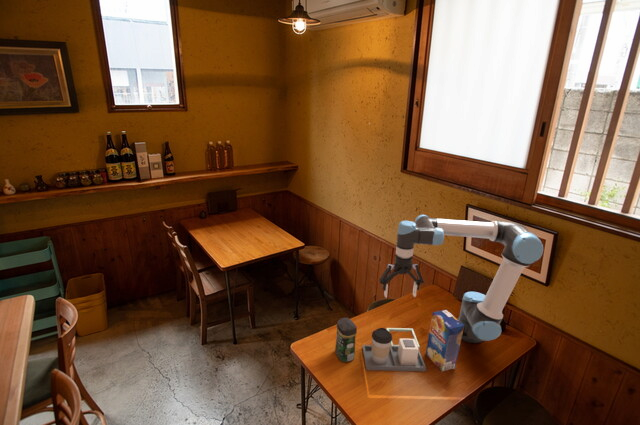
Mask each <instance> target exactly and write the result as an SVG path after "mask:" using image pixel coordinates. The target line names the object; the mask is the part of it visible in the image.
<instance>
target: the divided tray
mask: <svg viewBox="0 0 640 425" xmlns="http://www.w3.org/2000/svg"><path fill="white" fill-rule="evenodd" d="M418 349H419V351H418V357H417V363H416V366H415V365H401V364H400V361H399V358H398V354H397V353H398V346H390V351H389V355H388V358H387V362H386V363H385V364H382V365H379V364H376V363H374V362H373V360H372V344H362V353H363V358H364V364H365V365H364V366H365V370H366V371H387V372H388V371H394V372H395V371H396V372H398V371H399V372H426V371H427V367H426V364H425V362H424V359H423V357H422V356H423V355H422V354H421V351H420V348H418Z"/></svg>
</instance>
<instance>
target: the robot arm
mask: <svg viewBox="0 0 640 425" xmlns="http://www.w3.org/2000/svg"><path fill="white" fill-rule="evenodd" d="M445 236H451V237H452V236H453V237H464V238H465V237H467V238H478V239H489V241H491V242H496V243H500V244H502V245H503V246H504V248H503V249H502V252H501V256H502V261H501V263H500V264H499V267H498V269H497V271H496V274H495V275H494V277H493V280H492V282H491V283H490V286H489V288H488V291H487V292H486V294H484V293H481V292H477V291H467V292H465V293H463V295H462V296H463V297H462V300H461V306H460V312H459V316H458V317H457V318H456V319H457V320H459V321H460V322H461V323H462V324H463V325H464V329H463V333H462V338H461V341H464V342H467V343H471V344H472V343H473V344H478V343H479V344H480V343H482V342H483V341H492V340H496V339H498V337H500V336H501V333H502V326H501V325H500V324H501V322H502V320H503V318H504V314H503V309H504V308H505V306H506V304H507V302H508V300H509V298H510V296H511V295H512V292H513V290H514V288H515V286H516V285H517V282H518V280H519V278H520V276H521V274H522V272H523V270H524V269H525V268H529V267H530V266H531V264H534V263H535V262H538V261H539V260H541V257H542V256H543V253H544V244H543V242H542V241H541V239H540V238H539V237H538V236H537V235H536V234H535V233H533V232H531V231H530V230H529V229H528V228H527V227H525V226H524V224H521V223H518V222H513V221H507V220H506V221H503V220H491V221H490V222H489V221H474V220H462V219H450V218H437V217H436V218H435V217H430V216H428V215H426V214H420V215H418V216H416V217H415V220H414V221H412V220H411V221H409V220H402V221H400V222H398V227H397V234H396V246H395V247H396V248H395V255H394V256H395V257H394V263H393V264H391V263H389V262H388V263H387V265H386V268H385V270H384V271H383V273H382V274H381V276H380V278H379V279H378V281H379V284H380V285H382V290H383V292H384V293H383V295H384V298H386V299H387V298H388V290H389V285H388V284H389V283H390V282H391V280H393V279H394V278H395V277H396V276H398V274H399V275H407V274H408V275H409V276H410V278H412V280H413V288H412V295H413V298H416V297H417V292H418V291H419V290H420V285H421V284H424V283H425V282H424V279H423V277H422V274H421V273H420V270H419V265H418V263H417V262H415V263H414V264H413V255H414V249H415V248H414V247H415V245H428V246H441V245H443V244H444V240H445ZM412 269H414V270H415V272H416V275H417V277H418V278H417V277H416V276H415V274H414V273H413V272H412V271H411V270H412Z"/></svg>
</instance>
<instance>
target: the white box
mask: <svg viewBox="0 0 640 425" xmlns="http://www.w3.org/2000/svg"><path fill="white" fill-rule="evenodd" d="M398 340H399V341H398V345H399V346H398V353H397V354H398V358H399V361H400V364H401V365H415V366H416V363H417V357H418V351H420V348H419V349H418V346H417V344H416V341H415V339H414V338H401V337H400V338H399V339H398Z"/></svg>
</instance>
